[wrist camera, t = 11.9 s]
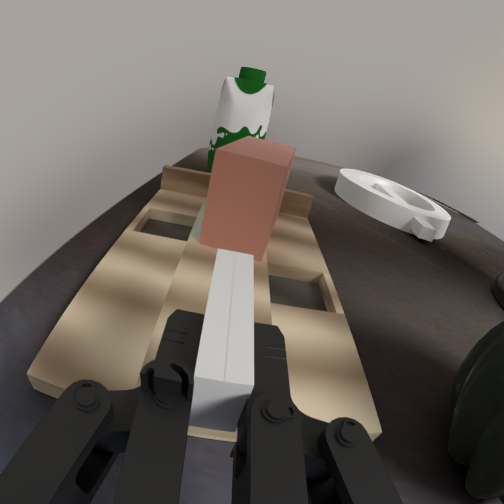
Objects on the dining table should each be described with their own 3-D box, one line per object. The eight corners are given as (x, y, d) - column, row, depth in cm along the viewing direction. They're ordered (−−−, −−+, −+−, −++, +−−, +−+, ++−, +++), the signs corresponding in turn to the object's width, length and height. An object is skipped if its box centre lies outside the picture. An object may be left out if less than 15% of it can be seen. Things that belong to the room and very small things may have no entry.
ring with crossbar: (366, 186, 83) (371, 170, 81) (451, 231, 67) (458, 214, 64) (310, 187, 64) (316, 166, 62) (426, 250, 48) (437, 226, 46)
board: (161, 196, 41) (165, 165, 39) (302, 224, 43) (312, 194, 41) (34, 388, 13) (9, 335, 11) (369, 443, 15) (410, 403, 13)
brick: (233, 202, 40) (248, 135, 36) (278, 215, 40) (296, 148, 35) (199, 243, 29) (215, 148, 24) (261, 261, 28) (286, 166, 24)
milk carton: (200, 184, 49) (224, 62, 39) (207, 171, 57) (229, 68, 47) (253, 194, 50) (282, 74, 40) (253, 180, 58) (277, 78, 48)
